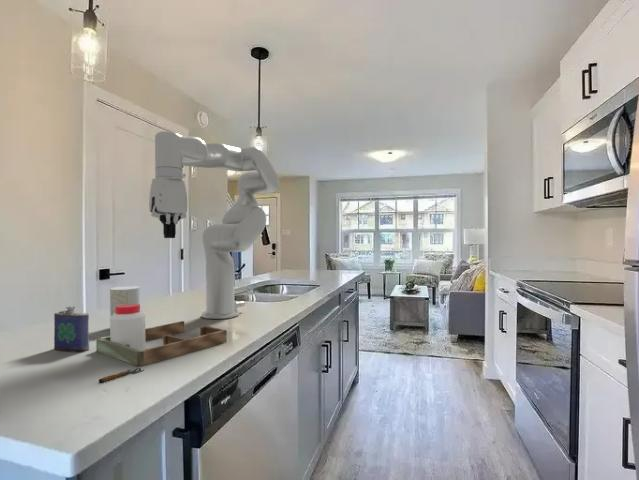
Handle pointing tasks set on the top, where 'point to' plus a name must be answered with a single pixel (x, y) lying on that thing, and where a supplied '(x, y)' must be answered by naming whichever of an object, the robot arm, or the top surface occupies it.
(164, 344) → the wooden frame
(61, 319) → the flask
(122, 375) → the can opener
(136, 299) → the cup
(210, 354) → the top surface
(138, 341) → the pill bottle
